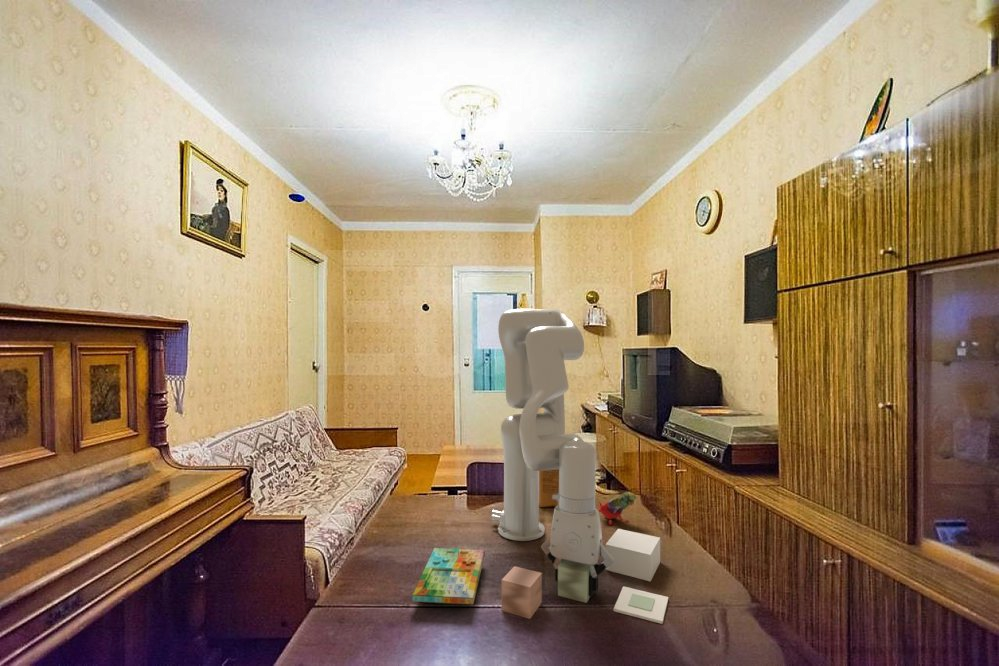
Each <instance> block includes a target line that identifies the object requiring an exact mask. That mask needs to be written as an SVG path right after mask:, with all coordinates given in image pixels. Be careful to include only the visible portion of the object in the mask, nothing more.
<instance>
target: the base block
mask: <svg viewBox="0 0 999 666" xmlns="http://www.w3.org/2000/svg"><path fill="white" fill-rule="evenodd" d="M605 548H606V549H607V550H608V551H609V553H610V554H611V555H612V556H613V558H614V562H613V564H612V565H610V566H609V567H608V568H606V569H605V570H604V571H610V572H612V573H616V574H621V575H624V576H629V577H631V578H636V579H639V580H643V581H647V582H651V581H652V579H653V578H654V575H655V574H656V571H657V569H658V568H659V566H660V563H661V537H659V536H654V535H651V534H645V533H640V532H635V531H632V530H631V531H630V530H625V529H622V528H617V530H615V532H614V533H613V534H612V536H610V538H609V539H608V541H607V542H606V543H605Z"/></svg>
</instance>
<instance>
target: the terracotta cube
mask: <svg viewBox="0 0 999 666" xmlns="http://www.w3.org/2000/svg"><path fill="white" fill-rule="evenodd" d="M542 575H543V572H540V571H535V570H531V569H529V568H528V569H527V568H523V567H519V566H513V567H512V568H511V569H510V570H509V571H508V572H507V573H506V575H505V576H504V577H503V578H502V579H501V599H500V600H501V602H500V603H501V604H500V605H501V608H500V609H501V611H503V612H506V613H509V614H513V615H515V616H518V617H522V618H526V619H529V620H530V619H532V618H533V616H534V614H535V612H536V611H537V610H538V609H539V607H540V606H541V605H542V602H543V600H542V599H543V598H542V595H543V592H542V591H543V577H542Z"/></svg>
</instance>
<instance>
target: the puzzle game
mask: <svg viewBox="0 0 999 666" xmlns="http://www.w3.org/2000/svg"><path fill="white" fill-rule="evenodd" d="M485 557H486V551H485V549H469V548H468V549H462V548H440V547H439V548H438V547H434V548H433V550H432V552H431V554H430V556H429V559H428V560H427V563H426V565H425V567H424V570H423V571H422V574H421V575H420V578H419V581H418V582H417V584H416V586H415V589H414V591H413V593H412V594H411V601H412V602H420V603H421V602H423V603H430V604H431V603H435V604H447V605H448V604H449V605H450V604H451V605H474V603H475V599H476V594H477V589H478V585H479V582H480V577H481V572H482V569H483V564H484V560H485Z"/></svg>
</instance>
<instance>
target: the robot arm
mask: <svg viewBox="0 0 999 666" xmlns="http://www.w3.org/2000/svg"><path fill="white" fill-rule="evenodd" d="M497 330H498V331H497V332H498V337H499V342H500V345H501V349H502V352H503V356H504V378H505V379H504V382H505V385H504V386H505V397H506V398H505V400H506V403H507V404H508V407H511V408H512V409H517V410H518V409H519V410H522V412H521V413H518V414H517V413H516V414H511V415H509V416H507V417H505V418H504V419H503V420H502V422H501V425H500V437H501V443H502V450H503V470H504V471H503V510H502V511H500V510H496V509H492V511H491V515H490V516H491V521H497V522H499V524H498V525H497V532H498V534H499V535H500V536H502V537H503V538H504V539H508V540H511V541H517V542H526V541H527V542H529V541H533V540H534V541H535V540H537V539H539V538H541V537H543V536H544V535H545V532H546V531H545V530H546V529H545V525H544V524H543V523H542V522H540V506H539V471H545V470H555V469H559V493H553V496H552V499H553V500H556V501H557V502H558V505H557V506H554V510H553V515H552V521H551V529H550V530H551V531H550V537H549V538H547V539H546V540H545V541H544V542H543V543H542V544H541V546H540V549H542V552H544V553H545V555H547V558H548V559H549V561H550V562H551V563H552V564H553V565H552V566H553V568H554V569H555V570H554V571H555V573H554V575H555V576H554V578H555V579H554V581H555V582H556V583H557V584H556V588H557V589H558V565H559V564H560V563H561V561H562V560H568V561H572V562H577V563H581V564H586V565H588V568H589V570H590V576H589V596H590V597H589V598H592V597H593V595H594V594H595V592H597V591H598V588H599V575H600V574H602V573H603V572H604V571H606V570H605V569H606V568H608V567H609V566H610V565H612V564H613V562H614V558H613V556H612V555H611V554H610V553H609V551H608V550H607V549H606V545H604V543H603V534H602V531H603V530H602V524H601V517H600V512H599V509H598V508H596V477H597V476H596V471H597V470H596V469H597V467H596V463H597V461H596V458H597V455H596V453H597V452H596V448H595V446H594V445H593V444H592V443H589V442H586V441H584V439H583V438H582V437H581V436H579V435H578V434H575V433H566V421H565V420H566V418H565V415H566V413H565V412H566V411H565V393H566V392H567V391H568V390H569V380H568V376H567V375H568V374H567V370H566V365H565V361H576V360H579V359H580V358H582V356H583V354H584V351H585V341H584V335H582V332H581V330H580V329H579V327H578V326H577V325H576V324H575V322H573V321H572V320H571V319H570V317H568V316H567V315H566V313H564V312H562V311H560V310H558V309H547V308H545V309H540V308H538V309H537V308H514V309H509V310H506V311H504V312H503V313H502V314H501V315H500V317H499V321H498V329H497ZM540 409H542V410H543V412H539V410H540ZM600 557H602V558H603V560H602V561H601V562H600V563H599V561H600Z"/></svg>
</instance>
